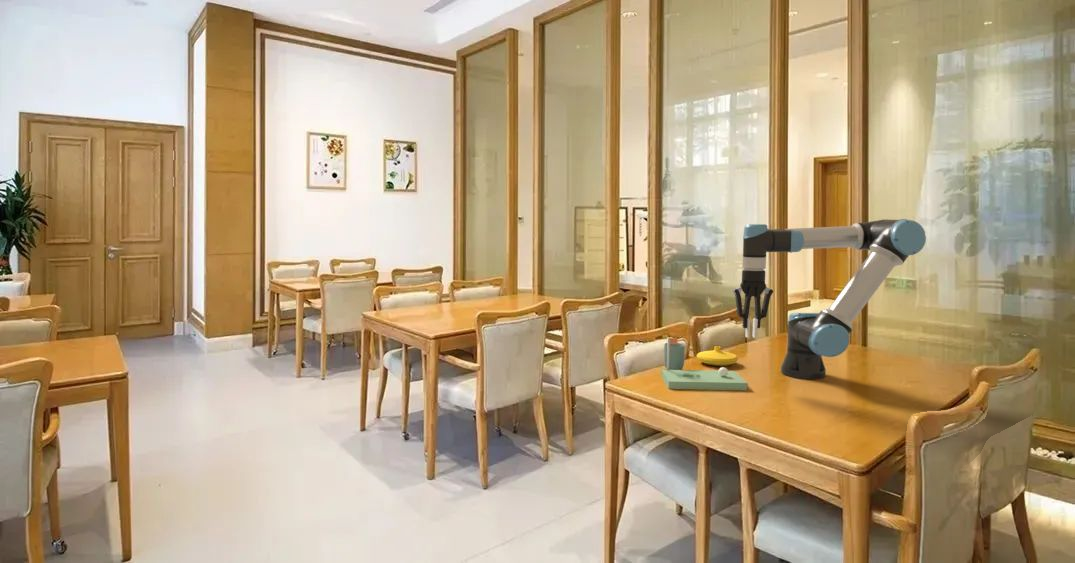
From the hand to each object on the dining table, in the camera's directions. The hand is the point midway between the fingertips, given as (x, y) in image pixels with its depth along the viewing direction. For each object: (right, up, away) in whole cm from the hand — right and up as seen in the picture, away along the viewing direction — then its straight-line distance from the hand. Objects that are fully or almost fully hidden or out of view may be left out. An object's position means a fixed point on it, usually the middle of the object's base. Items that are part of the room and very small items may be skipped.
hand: (750, 337), depth 207 cm
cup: (-22, -15, +20) cm, 33 cm away
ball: (-9, -12, +2) cm, 15 cm away
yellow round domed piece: (-3, -14, +31) cm, 34 cm away
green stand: (-16, -16, +3) cm, 23 cm away
